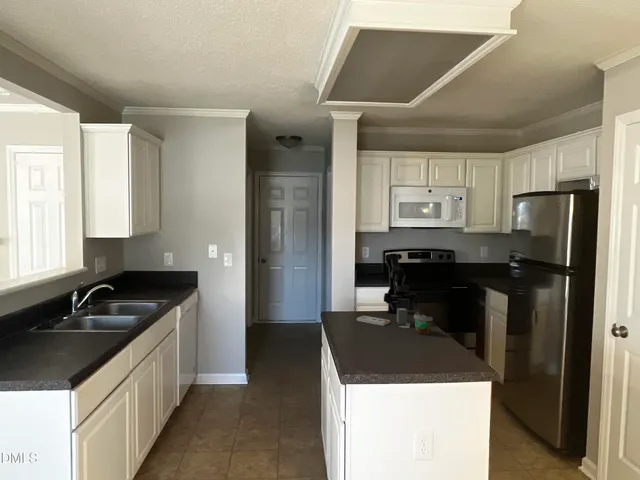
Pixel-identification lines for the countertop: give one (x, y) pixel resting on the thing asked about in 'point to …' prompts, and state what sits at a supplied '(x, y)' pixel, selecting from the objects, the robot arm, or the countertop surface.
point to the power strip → (373, 320)
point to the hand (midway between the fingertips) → (401, 310)
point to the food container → (423, 324)
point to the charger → (402, 316)
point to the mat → (404, 326)
